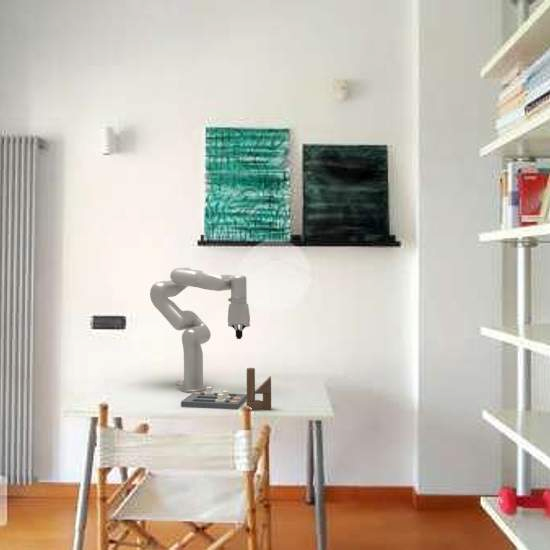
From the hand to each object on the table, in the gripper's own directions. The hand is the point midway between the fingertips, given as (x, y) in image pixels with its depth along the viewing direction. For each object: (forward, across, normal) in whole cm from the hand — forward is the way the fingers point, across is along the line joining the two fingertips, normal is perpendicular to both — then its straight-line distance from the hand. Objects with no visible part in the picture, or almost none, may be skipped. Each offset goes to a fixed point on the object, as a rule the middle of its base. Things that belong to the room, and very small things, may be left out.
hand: (239, 338), depth 271 cm
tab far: (+26, -11, -12) cm, 31 cm away
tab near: (+26, -3, -24) cm, 35 cm away
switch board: (+27, -7, -18) cm, 33 cm away
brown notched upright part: (+27, +15, -25) cm, 40 cm away
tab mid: (+26, -2, -18) cm, 32 cm away
